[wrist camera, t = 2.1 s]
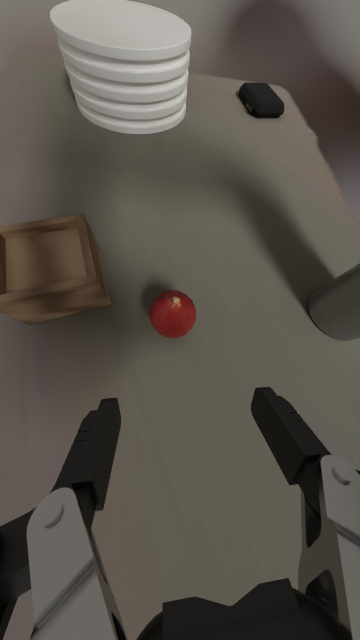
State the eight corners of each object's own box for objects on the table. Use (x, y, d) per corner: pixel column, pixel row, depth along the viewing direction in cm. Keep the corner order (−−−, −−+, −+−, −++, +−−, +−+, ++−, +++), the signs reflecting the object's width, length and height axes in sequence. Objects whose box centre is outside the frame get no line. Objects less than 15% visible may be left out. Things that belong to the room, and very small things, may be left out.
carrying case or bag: (232, 95, 53) (249, 121, 49) (235, 79, 51) (255, 105, 46) (262, 96, 55) (282, 121, 50) (268, 80, 52) (289, 105, 48)
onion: (143, 322, 25) (134, 295, 18) (172, 298, 27) (176, 265, 19) (170, 352, 24) (173, 337, 16) (199, 325, 26) (213, 301, 18)
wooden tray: (98, 247, 29) (83, 213, 23) (111, 304, 26) (97, 281, 20) (25, 260, 27) (-11, 228, 21) (29, 324, 23) (-13, 306, 18)
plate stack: (101, 72, 51) (84, -11, 40) (193, 93, 51) (201, 17, 41) (57, 118, 41) (20, 25, 30) (172, 145, 41) (175, 61, 31)
